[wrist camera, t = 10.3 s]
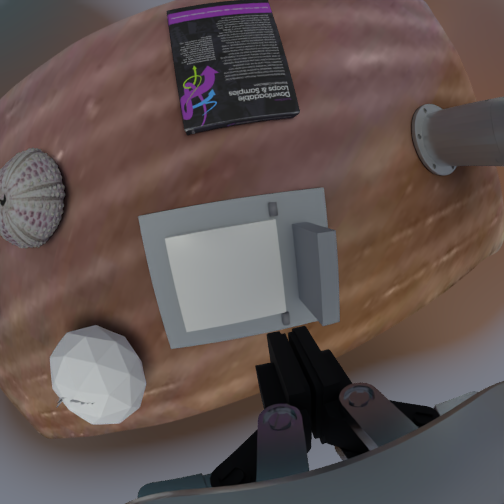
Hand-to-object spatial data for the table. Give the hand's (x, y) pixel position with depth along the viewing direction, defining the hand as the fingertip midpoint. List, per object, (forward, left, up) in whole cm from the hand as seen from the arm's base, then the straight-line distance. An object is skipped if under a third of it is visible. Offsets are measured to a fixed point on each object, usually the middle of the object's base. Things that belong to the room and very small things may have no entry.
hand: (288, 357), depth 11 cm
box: (-2, -25, -25) cm, 35 cm away
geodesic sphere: (+21, +12, -24) cm, 34 cm away
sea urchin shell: (+27, -12, -24) cm, 38 cm away
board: (-1, +3, -24) cm, 24 cm away
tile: (+1, +3, -21) cm, 22 cm away
